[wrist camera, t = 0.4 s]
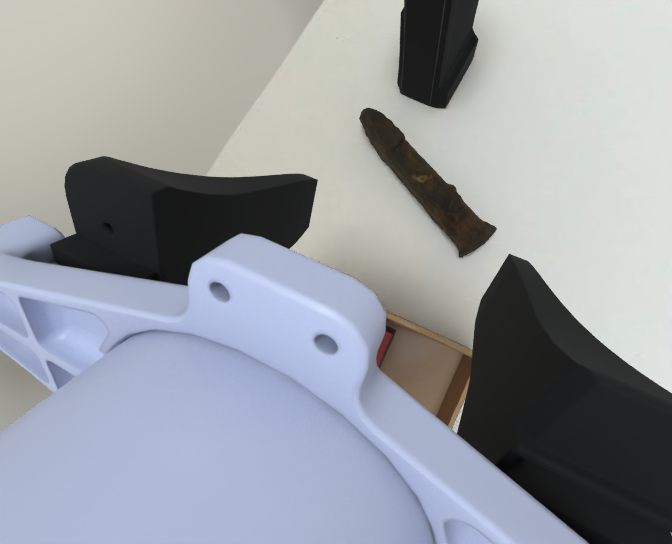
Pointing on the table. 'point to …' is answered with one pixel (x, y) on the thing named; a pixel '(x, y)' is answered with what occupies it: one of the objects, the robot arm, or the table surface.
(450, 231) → the brown rough bar
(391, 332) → the stapler
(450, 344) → the flap
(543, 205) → the table surface
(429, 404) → the carton
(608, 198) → the table surface
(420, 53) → the portable radio
